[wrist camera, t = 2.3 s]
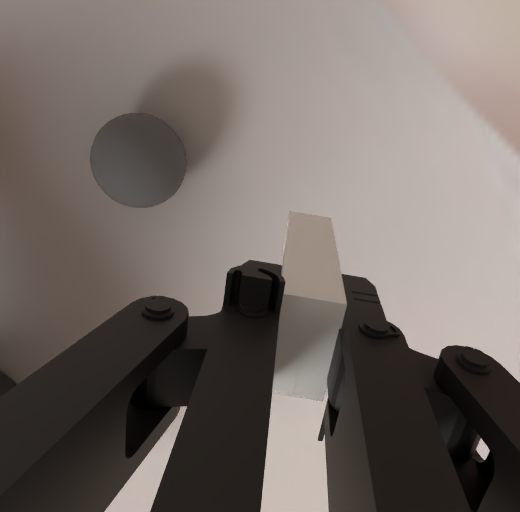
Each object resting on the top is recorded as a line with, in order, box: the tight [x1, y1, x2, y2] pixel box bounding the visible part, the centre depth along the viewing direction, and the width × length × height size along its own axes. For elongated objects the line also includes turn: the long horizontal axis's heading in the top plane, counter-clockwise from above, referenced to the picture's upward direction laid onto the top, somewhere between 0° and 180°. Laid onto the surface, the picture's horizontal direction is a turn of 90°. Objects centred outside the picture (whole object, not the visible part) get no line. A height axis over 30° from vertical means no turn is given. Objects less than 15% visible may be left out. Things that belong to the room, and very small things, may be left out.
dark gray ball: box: [90, 113, 186, 208], centre depth 27 cm, size 6×6×6 cm
